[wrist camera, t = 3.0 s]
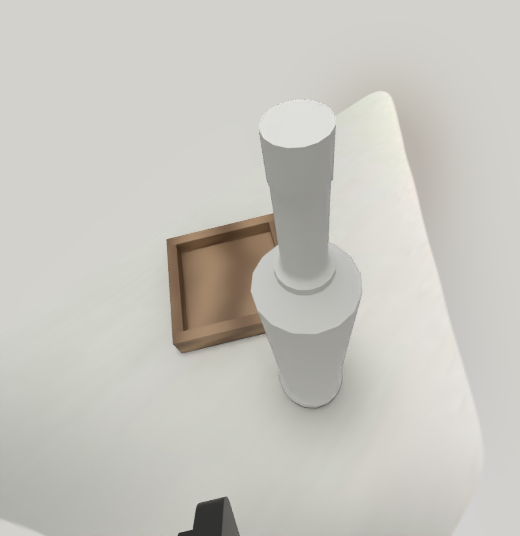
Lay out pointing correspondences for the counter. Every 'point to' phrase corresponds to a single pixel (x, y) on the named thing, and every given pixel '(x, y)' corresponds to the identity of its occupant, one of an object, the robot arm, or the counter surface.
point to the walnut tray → (217, 282)
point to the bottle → (304, 256)
